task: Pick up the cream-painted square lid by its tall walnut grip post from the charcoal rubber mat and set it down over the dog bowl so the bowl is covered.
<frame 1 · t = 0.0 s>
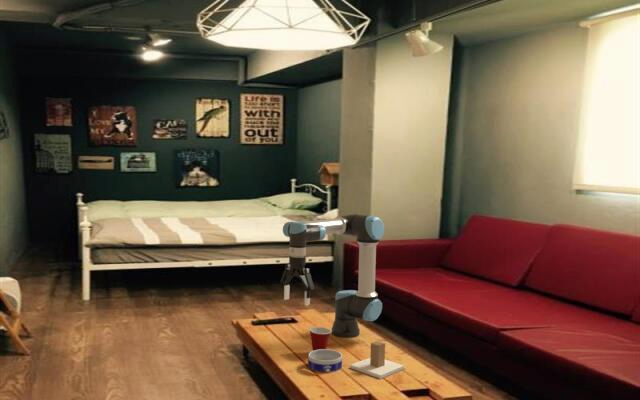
hand: (296, 302, 264), 28 cm above the table, fingers open, 13 cm apart
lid: (377, 368, 258), point 1 cm above the table, touching mat
plastic cup: (319, 354, 278), on the table
mat: (377, 369, 258), on the table
dog bowl: (324, 368, 260), on the table
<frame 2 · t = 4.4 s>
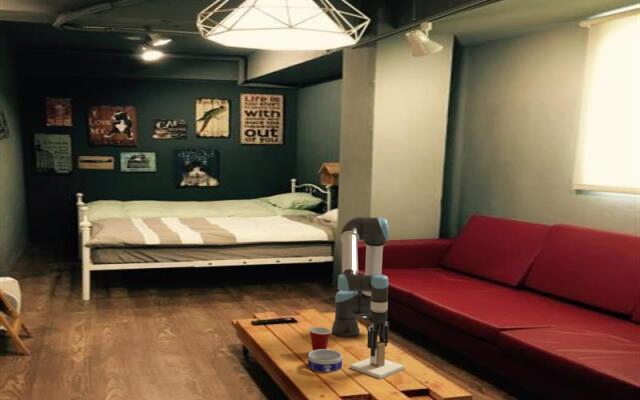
hand: (377, 361, 258), 4 cm above the table, fingers closed on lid, 4 cm apart
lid: (377, 368, 258), point 1 cm above the table, touching gripper, mat
everything else where it was.
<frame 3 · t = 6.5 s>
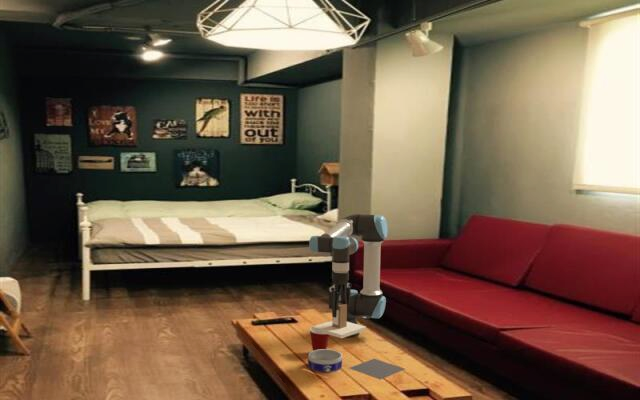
hand: (339, 322, 258), 21 cm above the table, fingers closed on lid, 4 cm apart
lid: (339, 329, 258), point 17 cm above the table, touching gripper
everything else where it was.
when the fingers open (11 cm above the table, at t = 9.0 s): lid drops 2 cm, resting on dog bowl.
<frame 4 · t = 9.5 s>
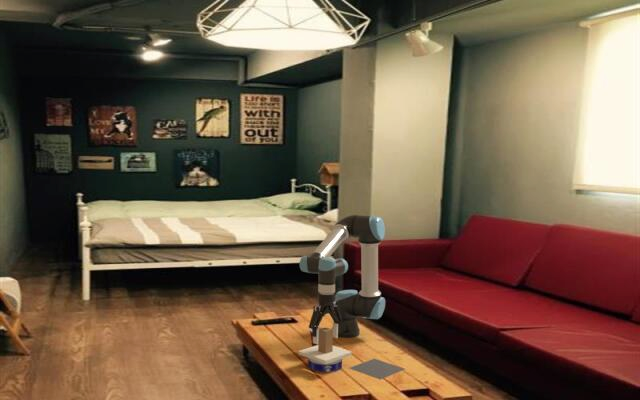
hand: (325, 340, 259), 12 cm above the table, fingers open, 12 cm apart
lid: (325, 354, 260), point 6 cm above the table, touching dog bowl
dog bowl: (324, 368, 260), on the table, touching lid
everything else where it was.
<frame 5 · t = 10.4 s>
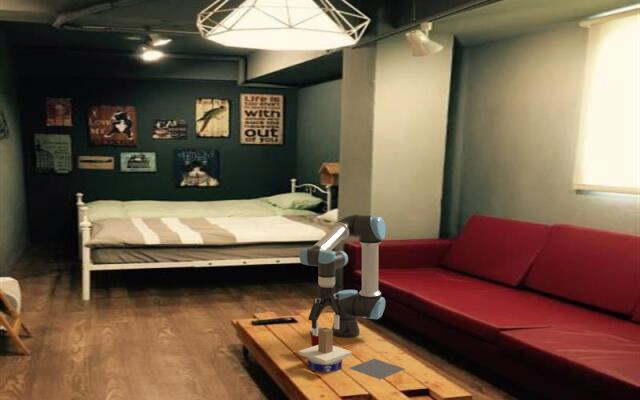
hand: (326, 332, 259), 16 cm above the table, fingers open, 13 cm apart
nothing on the table moved.
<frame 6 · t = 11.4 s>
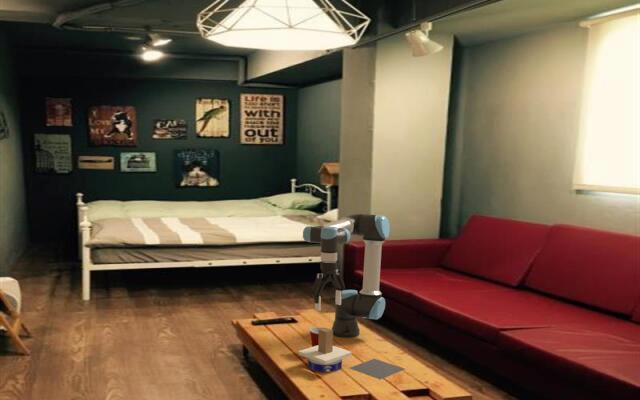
hand: (328, 307, 262), 26 cm above the table, fingers open, 13 cm apart
nothing on the table moved.
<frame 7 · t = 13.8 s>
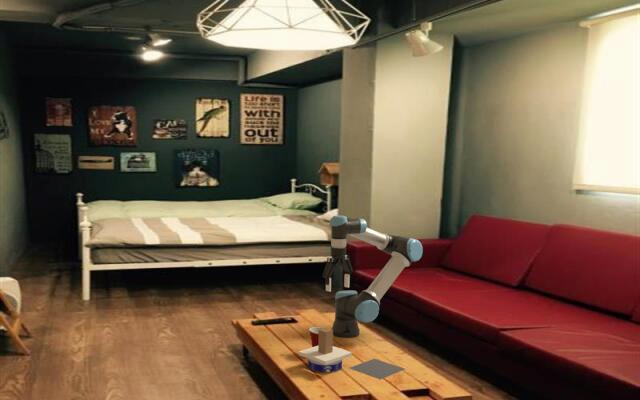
hand: (337, 289, 288), 29 cm above the table, fingers open, 13 cm apart
nothing on the table moved.
at the end: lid 0.1 cm from the dog bowl (horizontally); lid point 5.8 cm above the table; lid tilted 0° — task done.
